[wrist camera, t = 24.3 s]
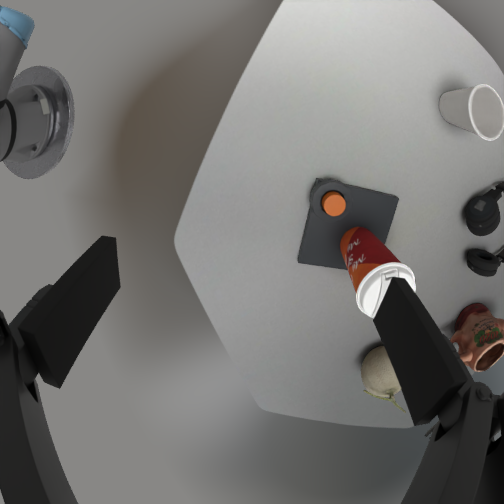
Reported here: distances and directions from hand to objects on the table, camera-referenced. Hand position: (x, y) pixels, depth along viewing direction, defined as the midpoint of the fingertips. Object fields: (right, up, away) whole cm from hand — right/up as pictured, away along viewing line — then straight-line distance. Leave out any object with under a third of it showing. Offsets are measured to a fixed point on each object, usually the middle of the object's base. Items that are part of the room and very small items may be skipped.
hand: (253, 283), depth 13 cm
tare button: (+12, +9, +28) cm, 31 cm away
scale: (+15, +5, +33) cm, 36 cm away
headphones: (+49, +8, +31) cm, 58 cm away
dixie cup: (+33, +25, +22) cm, 47 cm away
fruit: (+28, -22, +46) cm, 58 cm away
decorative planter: (+52, -15, +42) cm, 68 cm away
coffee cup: (+17, +3, +33) cm, 37 cm away
